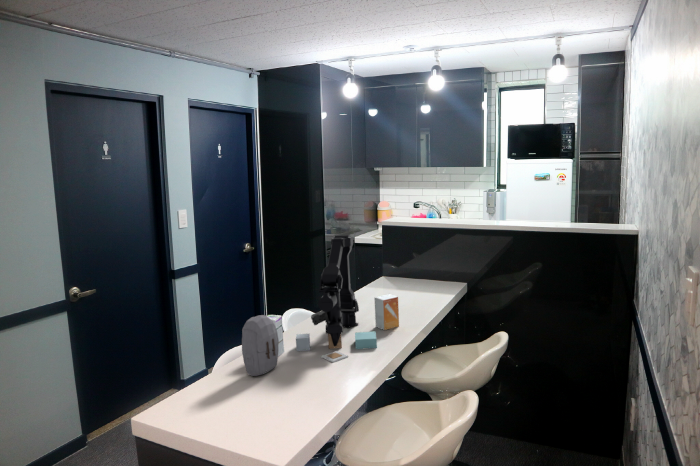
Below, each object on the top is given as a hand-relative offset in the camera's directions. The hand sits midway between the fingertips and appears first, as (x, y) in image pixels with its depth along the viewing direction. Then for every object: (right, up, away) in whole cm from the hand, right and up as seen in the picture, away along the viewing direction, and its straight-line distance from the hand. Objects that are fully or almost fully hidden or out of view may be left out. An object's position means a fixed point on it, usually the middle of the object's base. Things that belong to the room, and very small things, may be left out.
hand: (335, 343), depth 197 cm
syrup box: (-23, -3, -5) cm, 23 cm away
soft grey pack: (-24, -6, -21) cm, 32 cm away
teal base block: (+12, -1, 0) cm, 12 cm away
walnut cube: (0, -1, 0) cm, 1 cm away
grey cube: (-12, -2, 0) cm, 12 cm away
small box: (+22, +3, +19) cm, 29 cm away
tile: (0, -3, -11) cm, 11 cm away
